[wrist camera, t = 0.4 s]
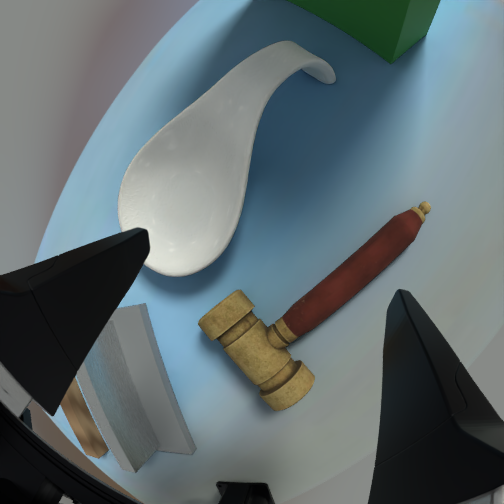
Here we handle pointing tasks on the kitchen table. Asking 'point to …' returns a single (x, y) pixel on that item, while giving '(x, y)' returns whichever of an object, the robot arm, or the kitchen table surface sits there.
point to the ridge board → (151, 378)
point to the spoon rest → (206, 163)
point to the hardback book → (377, 21)
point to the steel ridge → (116, 402)
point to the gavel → (302, 314)
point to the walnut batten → (82, 422)
